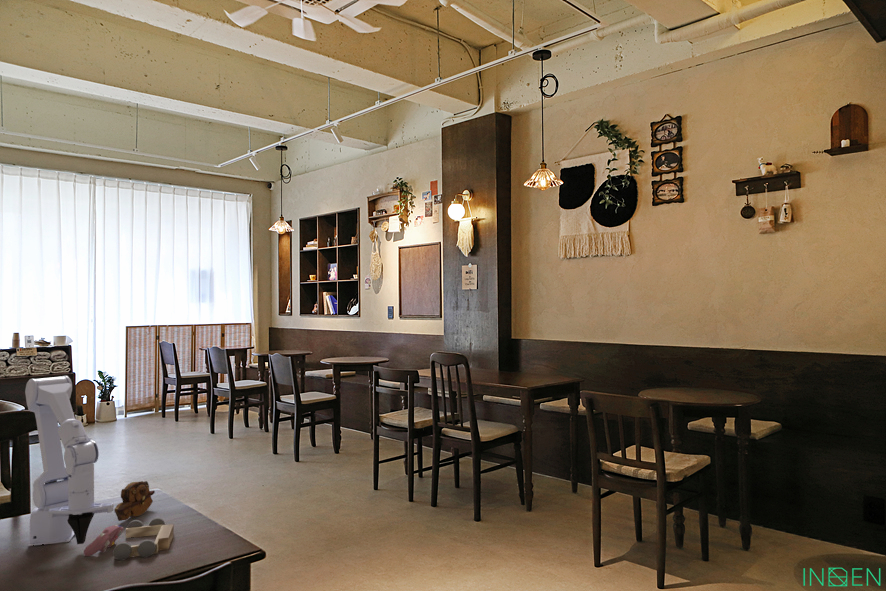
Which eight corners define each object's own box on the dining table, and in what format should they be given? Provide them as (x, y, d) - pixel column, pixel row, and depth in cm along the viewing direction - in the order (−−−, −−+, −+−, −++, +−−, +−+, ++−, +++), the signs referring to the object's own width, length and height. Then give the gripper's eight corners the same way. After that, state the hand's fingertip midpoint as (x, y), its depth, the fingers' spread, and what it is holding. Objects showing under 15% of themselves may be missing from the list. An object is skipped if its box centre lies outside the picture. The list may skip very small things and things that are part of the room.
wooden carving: (128, 526, 174) (128, 491, 174) (113, 526, 175) (113, 491, 175) (157, 506, 191) (157, 475, 191) (143, 506, 191) (143, 474, 191)
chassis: (112, 561, 151) (112, 545, 151) (127, 535, 167) (127, 520, 167) (166, 554, 154) (166, 539, 154) (175, 530, 171) (175, 515, 171)
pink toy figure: (96, 563, 153) (108, 538, 153) (80, 555, 153) (92, 530, 153) (118, 547, 163) (129, 524, 163) (103, 539, 163) (114, 516, 163)
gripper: (43, 497, 150) (43, 552, 150) (109, 491, 155) (109, 545, 155) (53, 489, 157) (53, 541, 157) (115, 483, 161) (115, 534, 161)
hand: (81, 542), depth 156 cm, fingers closed
